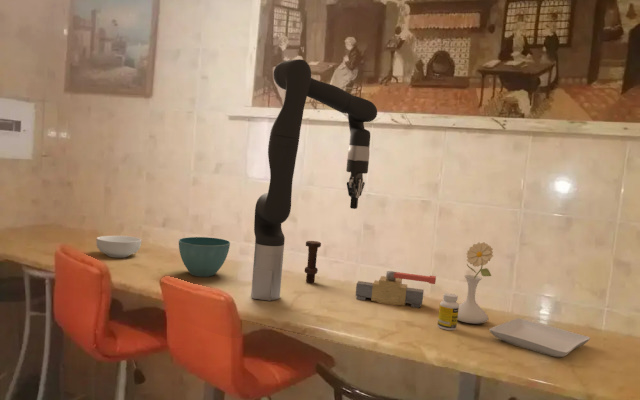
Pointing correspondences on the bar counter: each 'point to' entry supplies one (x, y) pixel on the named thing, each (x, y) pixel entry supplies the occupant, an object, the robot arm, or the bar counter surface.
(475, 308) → the flower in vase
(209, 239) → the teal bowl
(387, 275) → the lever
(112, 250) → the cereal bowl
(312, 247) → the bolt
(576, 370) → the bar counter surface
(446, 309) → the supplement bottle
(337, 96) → the robot arm
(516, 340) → the salad plate
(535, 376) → the bar counter surface
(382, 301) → the pipe and valve
